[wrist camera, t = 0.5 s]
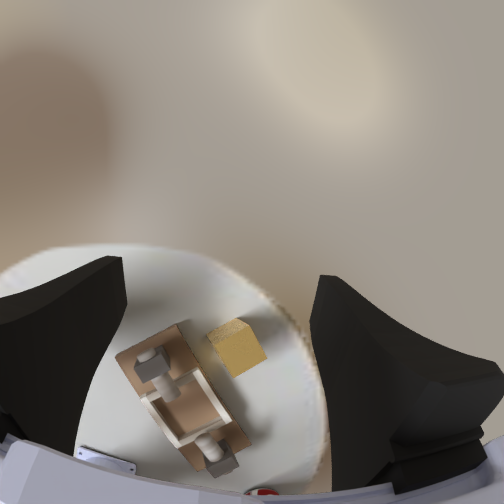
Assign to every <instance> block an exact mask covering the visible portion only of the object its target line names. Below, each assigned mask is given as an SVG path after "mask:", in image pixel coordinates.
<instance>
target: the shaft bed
mask: <svg viewBox="0 0 504 504" xmlns="http://www.w3.org/2000/svg"><path fill="white" fill-rule="evenodd" d="M115 359H116V361H117V362H118V364H119V366H120V367H121V369H122V370H123V372H124V374H125V375H126V377H127V378H128V380H129V382H130V383H131V385H132V386H133V388H134V389H135V391H136V392H137V394H138V395H139V397H140V400H141V402H142V403H143V405H144V406H145V408H146V409H147V411H148V412H149V413H150V415H151V416H152V418H153V419H154V420H155V422H156V423H157V424H158V426H159V427H160V428H161V430H162V431H163V432H164V434H165V435H166V436H167V438H168V439H169V440H170V441H171V443H172V444H173V445H174V446H175V448H176V449H177V448H178V450H179V451H180V452H181V453H182V454H183V456H184V457H185V458H186V459H187V460H188V462H189V463H190V464H191V465H192V466H193V467H194V469H195V470H196V471H197V472H198V471H200V470H202V469H204V468H206V469H207V470H208V471H209V472H210V474H211V475H212V476H213V477H214V478H217V477H219V476H221V475H225V474H228V473H230V472H231V471H233V469H235V468H237V467H239V465H238V462H237V460H236V458H235V456H234V454H235V453H237V452H239V451H240V450H242V449H244V448H246V447H248V446H250V445H252V444H251V443H250V441H249V439H248V438H247V436H246V435H245V434H244V432H243V431H242V429H241V428H240V426H239V425H238V423H237V422H236V421H235V419H234V418H233V416H232V415H231V413H230V412H229V410H228V409H227V407H226V406H225V404H224V403H223V401H222V400H221V398H220V397H219V395H218V393H217V392H216V390H215V389H214V387H213V386H212V384H211V382H210V381H209V379H208V378H207V376H206V374H205V373H204V371H203V370H202V368H201V366H200V365H199V363H198V361H197V360H196V358H195V356H194V355H193V353H192V351H191V350H190V348H189V346H188V344H187V343H186V341H185V339H184V338H183V336H182V334H181V332H180V331H179V329H178V327H177V325H176V324H174V325H172V326H171V327H169V328H167V329H165V330H163V331H161V332H159V333H157V334H155V335H153V336H151V337H150V338H148V339H146V340H144V341H142V342H140V343H138V344H136V345H134V346H132V347H130V348H128V349H126V350H124V351H122V352H120V353H118V354H117V355H116V356H115Z"/></svg>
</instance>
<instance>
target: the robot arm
mask: <svg viewBox="0 0 504 504" xmlns="http://www.w3.org/2000/svg"><path fill="white" fill-rule="evenodd" d="M126 306H127V297H126V289H125V281H124V272H123V263H122V257H116V256H105V257H102V258H99V259H97V260H94V261H92V262H90V263H88V264H86V265H83V266H81V267H79V268H77V269H75V270H73V271H71V272H69V273H67V274H65V275H62V276H60V277H58V278H56V279H53V280H51V281H49V282H47V283H44V284H42V285H40V286H37V287H34V288H32V289H29V290H26V291H23V292H20V293H17V294H13V295H9V296H6V297H2V298H0V504H504V435H502V436H500V437H498V438H496V439H493V440H491V441H489V442H488V443H486V444H485V445H484V446H482V444H481V442H480V440H479V439H480V438H482V436H483V435H484V432H483V430H482V428H481V426H480V425H481V424H482V423H483V422H484V420H486V418H487V417H488V416H489V415H490V414H491V412H492V411H493V410H494V409H495V407H496V406H497V405H498V404H499V402H500V401H501V399H502V398H503V396H504V374H503V372H502V371H501V370H500V368H499V367H498V365H497V364H496V363H495V362H493V361H489V360H486V359H482V358H478V357H474V356H470V355H467V354H464V353H461V352H459V351H456V350H453V349H450V348H447V347H445V346H442V345H440V344H438V343H436V342H434V341H432V340H430V339H428V338H425V337H423V336H421V335H420V334H418V333H416V332H414V331H412V330H410V329H409V328H407V327H405V326H404V325H402V324H400V323H399V322H397V321H396V320H394V319H393V318H391V317H390V316H388V315H387V314H386V313H384V312H383V311H381V310H380V309H378V308H377V307H376V306H375V305H373V304H372V303H371V302H369V301H368V300H367V299H366V298H364V297H363V296H362V295H361V294H359V293H358V292H357V291H356V290H354V289H353V288H352V287H351V286H349V285H348V284H347V283H346V282H344V281H343V280H342V279H340V278H339V277H337V276H330V275H320V278H319V282H318V287H317V291H316V296H315V300H314V304H313V309H312V313H311V317H310V331H311V339H312V345H313V349H314V353H315V357H316V361H317V364H318V368H319V372H320V376H321V380H322V384H323V387H324V391H325V396H326V401H327V409H328V418H329V427H330V440H331V456H332V492H326V493H315V494H300V495H243V494H240V493H237V492H231V491H224V490H218V489H212V488H206V487H201V486H193V485H186V484H179V483H173V482H167V481H161V480H156V479H151V478H146V477H142V476H137V475H135V472H136V465H135V464H134V463H130V462H127V461H123V460H120V459H116V458H113V457H110V456H107V455H104V454H101V453H98V452H95V451H92V450H89V449H86V448H84V447H78V449H77V458H75V457H73V454H74V447H75V441H76V436H77V431H78V426H79V422H80V418H81V414H82V410H83V407H84V403H85V400H86V396H87V393H88V390H89V387H90V384H91V381H92V379H93V376H94V374H95V372H96V369H97V367H98V365H99V363H100V361H101V359H102V357H103V356H104V354H105V352H106V350H107V348H108V346H109V344H110V342H111V340H112V339H113V337H114V335H115V333H116V331H117V329H118V327H119V325H120V323H121V320H122V318H123V315H124V312H125V309H126ZM80 452H81V453H82V454H81V453H80ZM131 469H134V470H131Z"/></svg>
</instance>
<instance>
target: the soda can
mask: <svg viewBox="0 0 504 504" xmlns="http://www.w3.org/2000/svg"><path fill="white" fill-rule="evenodd" d="M244 495H279V494H278V493H277V492H276V491H274V490H272V489H266V488H262V489H255V490H252V491H250V492H247V493H246V494H244Z"/></svg>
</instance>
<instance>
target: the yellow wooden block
mask: <svg viewBox="0 0 504 504" xmlns="http://www.w3.org/2000/svg"><path fill="white" fill-rule="evenodd" d="M206 335H207V337H208V338H209V340H210V342H211V344H212V345H213V347H214V349H215V351H216V352H217V354H218V356H219V357H220V359H221V361H222V362H223V364H224V365H225V367H226V368H227V370H228V371H229V373H230V374H231V376H232V377H233V378H235V377H236V376H238V375H240V374H242V373H243V372H245V371H247V370H249V369H250V368H252V367H254V366H255V365H257V364H259V363H260V362H262V361H264V360H265V359H267V357H266V355H265V353H264V351H263V349H262V347H261V346H260V344H259V342H258V340H257V338H256V336H255V335H254V333H253V331H252V329H251V327H250V325H248V324H246V323H245V322H243V321H241V320H239V319H237V318H235V319H233V320H231V321H230V322H228V323H226V324H224V325H222V326H221V327H219V328H217V329H215V330H213V331H211V332H210V333H208V334H206Z"/></svg>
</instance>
